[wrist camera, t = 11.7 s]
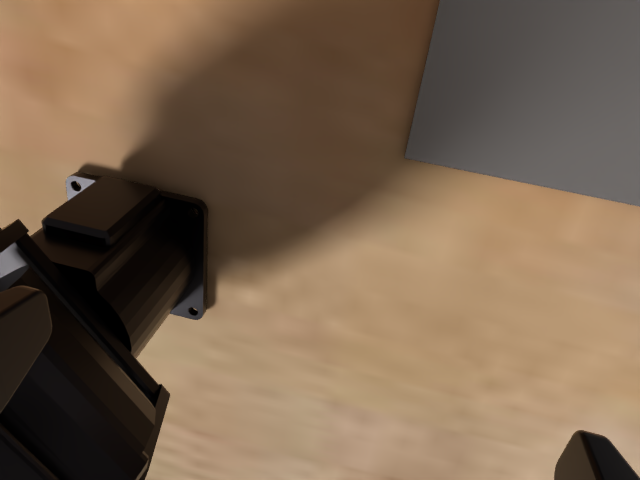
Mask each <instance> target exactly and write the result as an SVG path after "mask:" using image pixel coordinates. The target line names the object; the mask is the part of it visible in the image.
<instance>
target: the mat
mask: <svg viewBox="0 0 640 480" xmlns="http://www.w3.org/2000/svg"><path fill="white" fill-rule="evenodd" d="M404 158H406V159H411V160H416V161H421V162H425V163H430V164H435V165H440V166H445V167H450V168H455V169H460V170H464V171H469V172H474V173H479V174H484V175H489V176H494V177H499V178H504V179H508V180H513V181H518V182H523V183H528V184H533V185H538V186H543V187H547V188H552V189H557V190H562V191H567V192H572V193H577V194H582V195H586V196H591V197H596V198H601V199H606V200H611V201H616V202H621V203H626V204H630V205H635V206H640V0H440V3H439V7H438V11H437V16H436V20H435V25H434V29H433V34H432V38H431V42H430V47H429V51H428V56H427V60H426V64H425V69H424V73H423V78H422V82H421V87H420V91H419V95H418V100H417V104H416V109H415V113H414V117H413V122H412V126H411V131H410V135H409V139H408V144H407V148H406V153H405V157H404Z"/></svg>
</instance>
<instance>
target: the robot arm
mask: <svg viewBox="0 0 640 480" xmlns="http://www.w3.org/2000/svg"><path fill="white" fill-rule="evenodd" d="M77 182H78V183H79V184H80V185H81V187H79V186H78V184H77ZM66 189H67V196H68V201H67V202H66V203H64V204H63V205H61V206H60V207H59V208H57V209H56V210H54V211H53V212H51V213H50V214H49V215H47V216H46V217H45V218H44V219H43V220H42V228H41V229H40V230H38V231H37V232H35V233H34V234H33V235H31V236H29V235H28V234H27V232H28V231H29V230H28V229H27V228H26V227H25V226H24V225H23V223H22V222H21V221H20V220H19V219H17V220H16V221H14V222H13V223H11V224H9V225H8V226H6V227H4V228H3V229H1V228H0V480H145V477H146V475H147V472H148V470H149V466H150V463H151V459H152V456H153V452H154V449H155V446H156V442H157V439H158V435H159V432H160V428H161V425H162V421H163V418H164V415H165V411H166V408H167V404H168V401H169V397H170V393H169V392H168V391H167V390H166V389H165V388H164V386H163V385H162V384H159V385H158V384H157V382H156V381H155V380H154V379H153V378H152V377H151V375H150V374H149V373H148V372H147V371H146V370H145V369H144V367H143V366H142V365H141V364H140V363H139V362H138V360H137V359H136V358H137V356H138V355H139V354H140V352H141V351H142V350H143V348H144V347H145V346H146V344H147V343H148V342H149V340H150V339H151V338H152V336H153V335H154V334H155V332H156V331H157V330H158V328H159V327H160V325H161V324H162V323H163V321H164V320H165V319H166V317H167V316H168V315H169V313H170V314H174V315H178V316H182V317H185V318H189V319H194V320H198V319H200V318H201V317H202V316H203V315H204V313H205V312H206V290H207V227H208V210H207V206H206V205H205V203H204V202H202V201H201V200H199V199H196V198H191V197H187V196H183V195H178V194H174V193H169V192H165V191H160V190H159V189H157V188H156V187H153V186H149V185H144V184H140V183H135V182H131V181H126V180H122V179H118V178H113V177H109V176H102V177H98V176H94V175H89V174H85V173H80V172H76V173H74V174H72V175H71V176H69V177H68V178H67V179H66ZM192 208H195V209H196V210H197V211H198V213H199V214H196V213H194V212H193V211H192ZM192 307H193V308H195V309H196V310H197V311H196V310H194V309H193V308H192ZM554 480H640V478H639V476H638V475H637V474H636V473H635V471H634V470H633V469H632V468H631V466H630V465H629V464H628V463H627V461H626V460H625V459H624V458H623V456H622V455H621V454H620V453H619V451H618V450H617V449H616V448H615V446H614V445H613V444H612V443H611V441H610V440H609V439H607V438H606V437H605V436H602V435H599V434H595V433H591V432H587V431H583V430H578V431H576V432H575V433H574V434H573V436H572V437H571V439H570V441H569V442H568V444H567V446H566V448H565V449H564V451H563V453H562V454H561V456H560V458H559V460H558V462H557V464H556V468H555V474H554Z"/></svg>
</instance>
